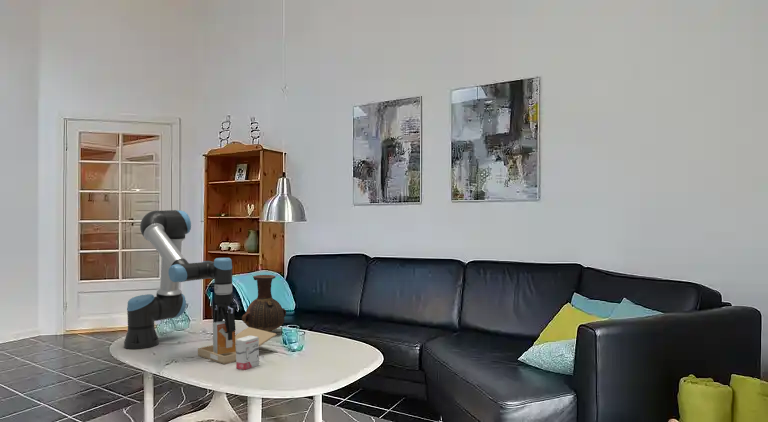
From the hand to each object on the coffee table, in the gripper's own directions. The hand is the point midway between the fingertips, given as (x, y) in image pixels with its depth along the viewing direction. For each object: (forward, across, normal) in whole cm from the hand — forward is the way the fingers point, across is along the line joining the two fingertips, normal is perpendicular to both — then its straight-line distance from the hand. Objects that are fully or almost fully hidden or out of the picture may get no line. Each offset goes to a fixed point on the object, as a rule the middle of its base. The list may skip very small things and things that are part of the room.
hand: (224, 345), depth 240 cm
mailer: (+5, 0, 0) cm, 5 cm away
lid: (-1, 0, +13) cm, 13 cm away
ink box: (+5, +21, -2) cm, 22 cm away
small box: (+3, 0, 0) cm, 3 cm away
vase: (+5, -23, +37) cm, 44 cm away
